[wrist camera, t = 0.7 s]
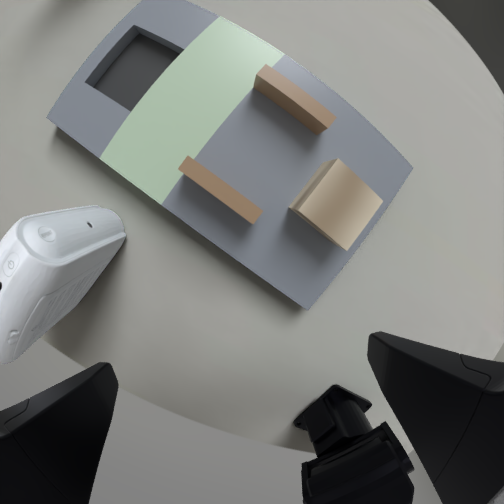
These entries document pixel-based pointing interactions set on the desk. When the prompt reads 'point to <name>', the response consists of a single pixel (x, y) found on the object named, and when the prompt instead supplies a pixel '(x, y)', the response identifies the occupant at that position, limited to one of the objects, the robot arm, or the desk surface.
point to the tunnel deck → (225, 137)
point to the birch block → (336, 203)
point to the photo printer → (51, 270)
